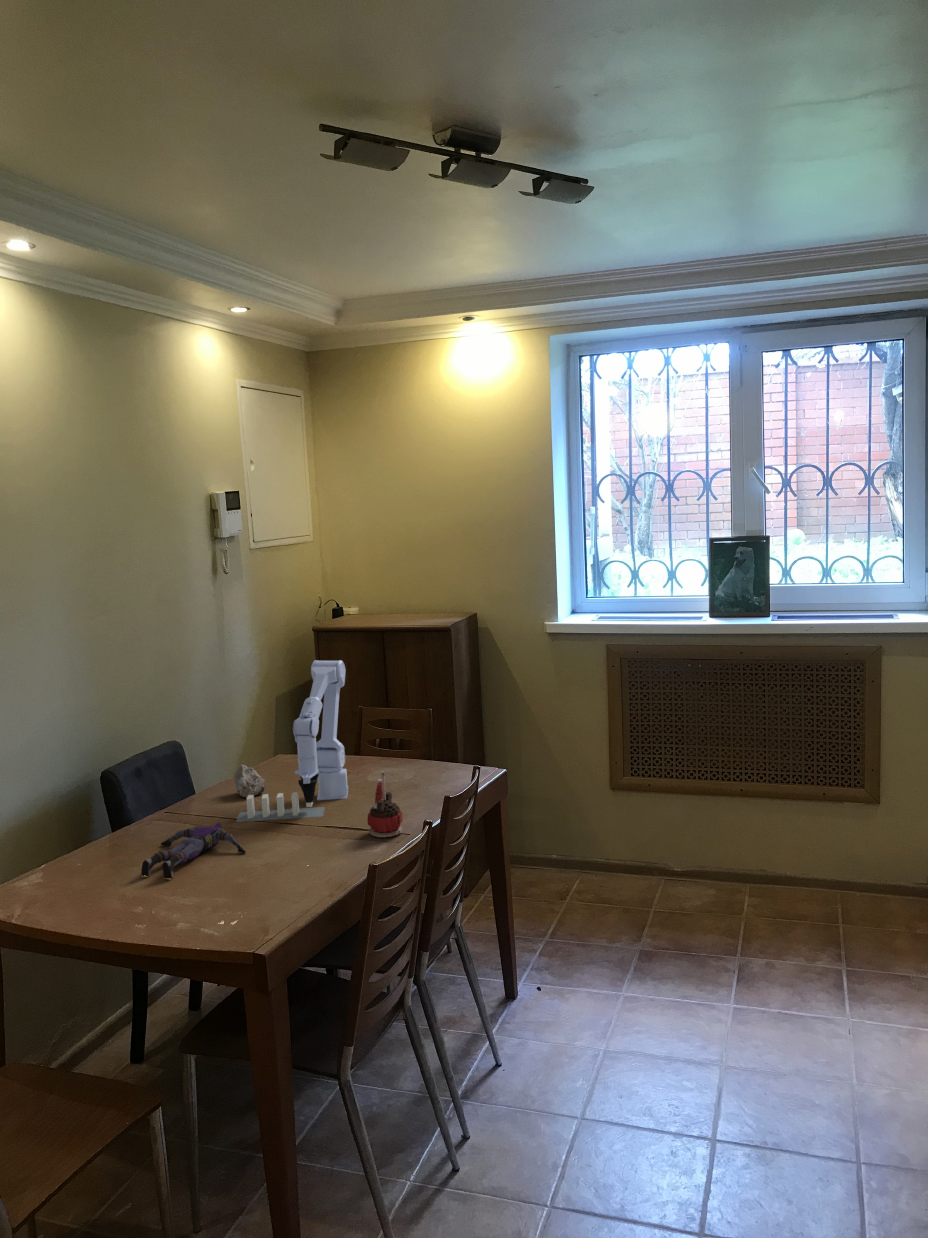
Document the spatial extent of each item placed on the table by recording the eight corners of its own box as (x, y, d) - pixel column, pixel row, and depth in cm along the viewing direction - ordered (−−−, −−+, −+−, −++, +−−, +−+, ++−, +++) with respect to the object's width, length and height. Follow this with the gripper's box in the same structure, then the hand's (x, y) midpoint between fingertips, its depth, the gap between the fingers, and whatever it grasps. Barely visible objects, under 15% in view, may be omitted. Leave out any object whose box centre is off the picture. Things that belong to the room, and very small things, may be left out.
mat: (324, 808, 299) (324, 807, 299) (323, 817, 290) (322, 816, 290) (240, 813, 297) (240, 812, 297) (235, 822, 288) (235, 822, 288)
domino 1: (254, 813, 295) (253, 795, 294) (253, 818, 291) (251, 799, 290) (249, 814, 295) (248, 795, 294) (247, 818, 291) (246, 799, 290)
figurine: (202, 888, 243) (263, 843, 271) (200, 865, 242) (261, 822, 270) (113, 878, 252) (181, 835, 280) (110, 856, 251) (179, 815, 279)
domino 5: (312, 802, 296) (311, 783, 295) (311, 806, 292) (310, 787, 291) (307, 803, 296) (306, 784, 295) (306, 807, 292) (305, 787, 291)
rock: (245, 809, 309) (264, 785, 309) (218, 786, 311) (237, 762, 310) (255, 803, 319) (273, 780, 318) (229, 781, 320) (247, 758, 319)
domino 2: (269, 813, 295) (268, 794, 295) (268, 817, 291) (266, 798, 291) (264, 813, 295) (263, 794, 294) (262, 817, 291) (261, 798, 290)
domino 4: (299, 811, 296) (298, 792, 295) (298, 815, 292) (296, 796, 291) (293, 811, 296) (292, 792, 295) (292, 815, 292) (291, 796, 291)
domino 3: (284, 812, 296) (283, 793, 295) (283, 816, 292) (281, 797, 291) (279, 812, 296) (277, 793, 295) (277, 816, 292) (276, 797, 291)
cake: (396, 840, 268) (393, 778, 266) (364, 839, 270) (361, 777, 268) (406, 827, 278) (403, 767, 276) (375, 826, 280) (372, 766, 278)
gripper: (296, 751, 299) (298, 793, 301) (291, 763, 285) (294, 808, 286) (319, 749, 299) (321, 792, 301) (315, 762, 285) (318, 806, 287)
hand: (310, 800), depth 294 cm, fingers closed on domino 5, 4 cm apart
